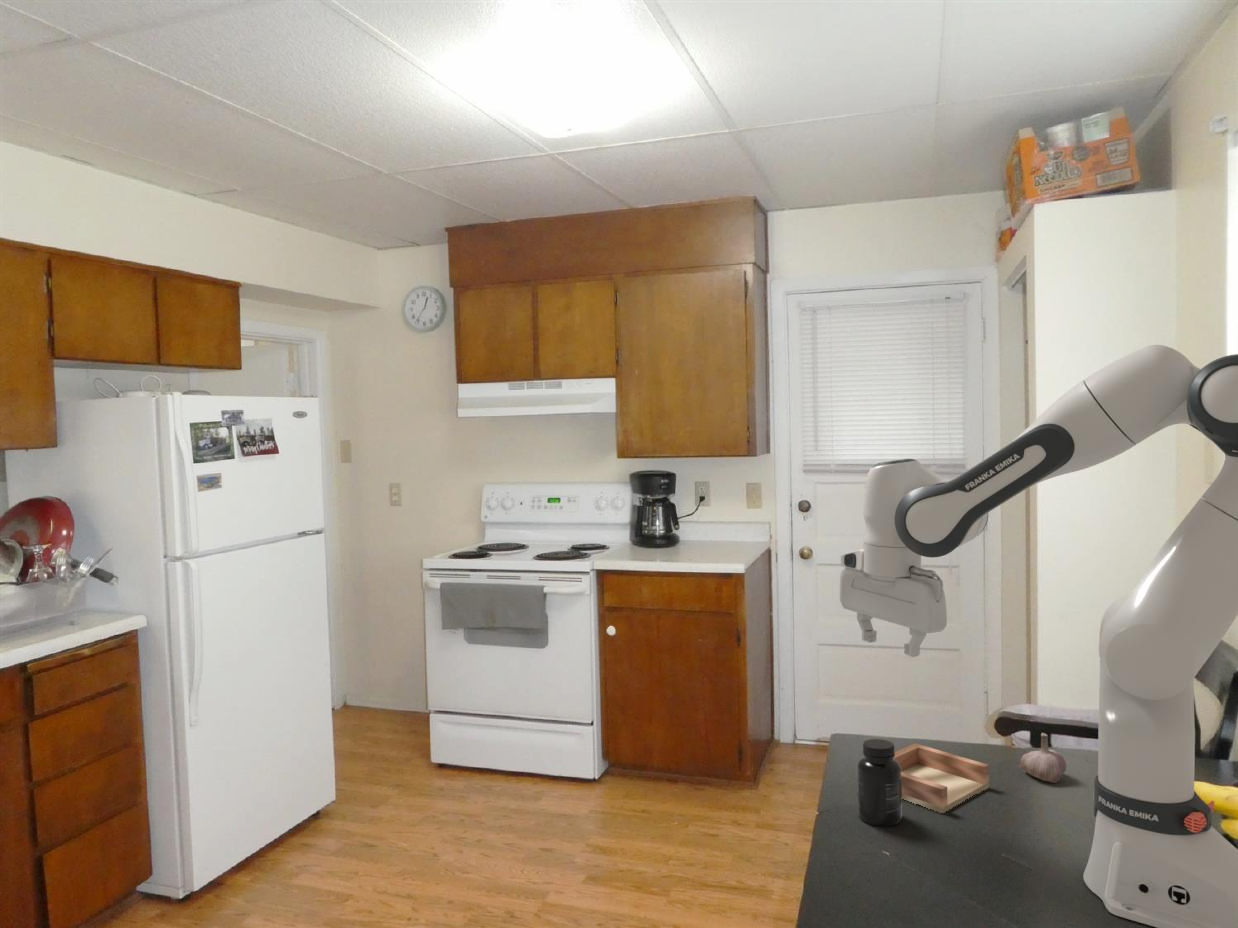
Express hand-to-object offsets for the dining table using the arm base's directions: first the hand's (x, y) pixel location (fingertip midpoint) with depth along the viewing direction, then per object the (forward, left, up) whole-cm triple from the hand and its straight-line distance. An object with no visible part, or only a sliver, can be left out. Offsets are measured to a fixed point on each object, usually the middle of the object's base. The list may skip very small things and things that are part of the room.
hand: (889, 648), depth 142 cm
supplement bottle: (+1, +2, -27) cm, 27 cm away
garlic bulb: (-9, -33, -28) cm, 44 cm away
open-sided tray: (+2, -14, -27) cm, 31 cm away
